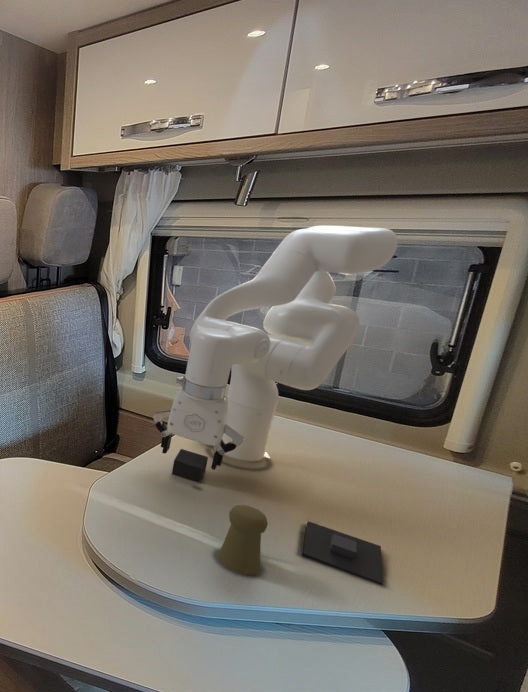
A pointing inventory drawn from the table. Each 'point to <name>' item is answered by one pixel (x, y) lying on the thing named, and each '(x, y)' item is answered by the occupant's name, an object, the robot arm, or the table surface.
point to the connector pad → (190, 465)
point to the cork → (243, 540)
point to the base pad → (340, 562)
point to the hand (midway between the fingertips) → (189, 458)
